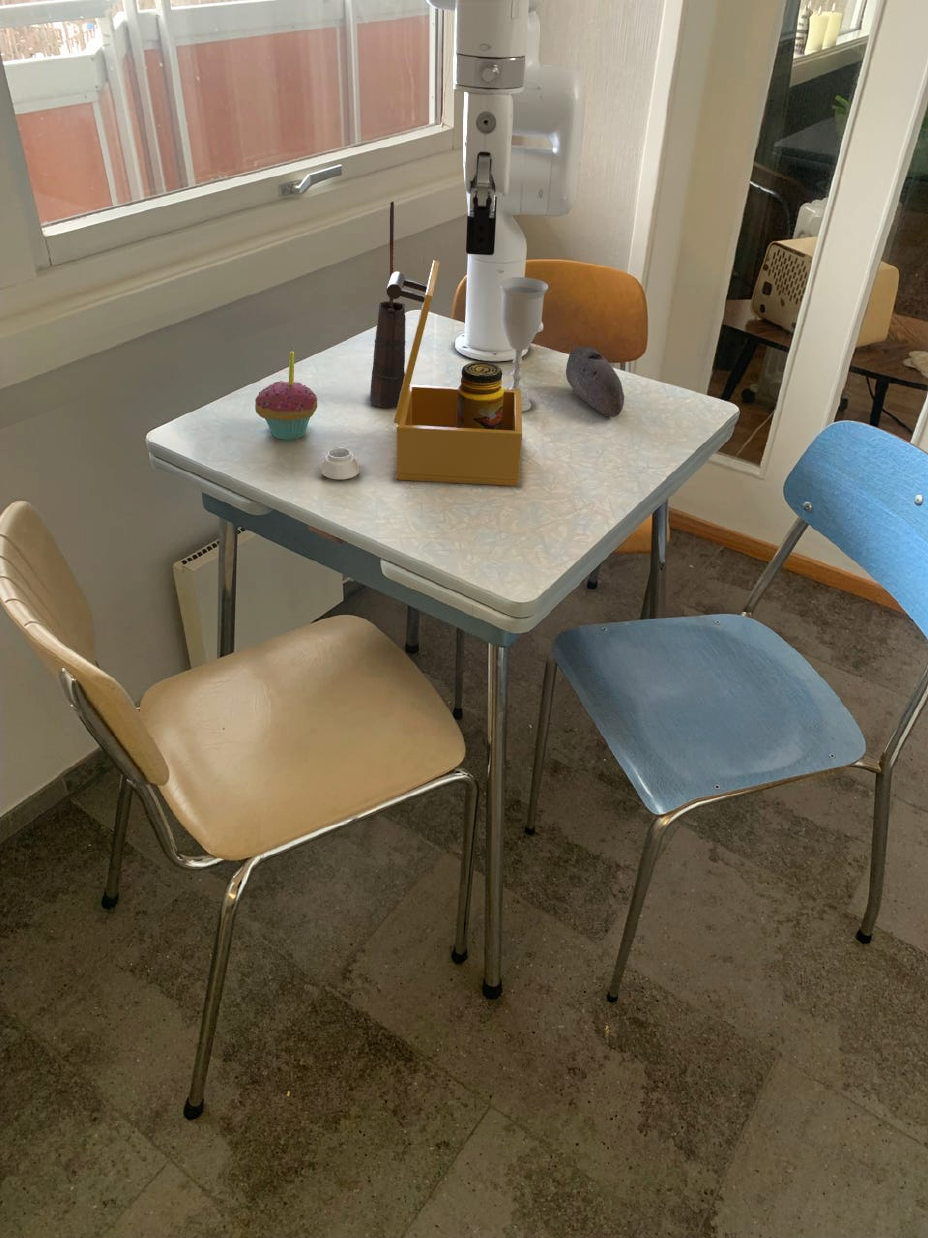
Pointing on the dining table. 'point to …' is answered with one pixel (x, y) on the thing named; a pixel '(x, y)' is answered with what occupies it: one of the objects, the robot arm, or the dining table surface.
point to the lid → (395, 292)
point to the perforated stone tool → (595, 381)
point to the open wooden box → (456, 440)
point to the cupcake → (287, 406)
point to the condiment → (480, 397)
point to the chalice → (521, 320)
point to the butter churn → (389, 346)
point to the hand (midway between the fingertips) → (480, 242)
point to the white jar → (340, 464)
